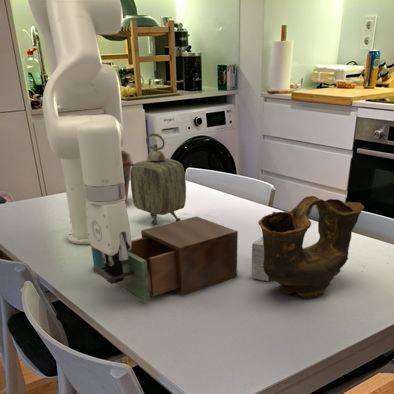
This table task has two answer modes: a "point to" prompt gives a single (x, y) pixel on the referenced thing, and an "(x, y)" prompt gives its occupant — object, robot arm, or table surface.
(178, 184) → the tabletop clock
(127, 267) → the drawer
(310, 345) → the table surface
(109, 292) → the table surface
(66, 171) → the robot arm
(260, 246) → the medicine box
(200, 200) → the table surface
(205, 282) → the cabinet
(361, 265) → the table surface
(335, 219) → the pottery vessel
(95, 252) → the glue stick
